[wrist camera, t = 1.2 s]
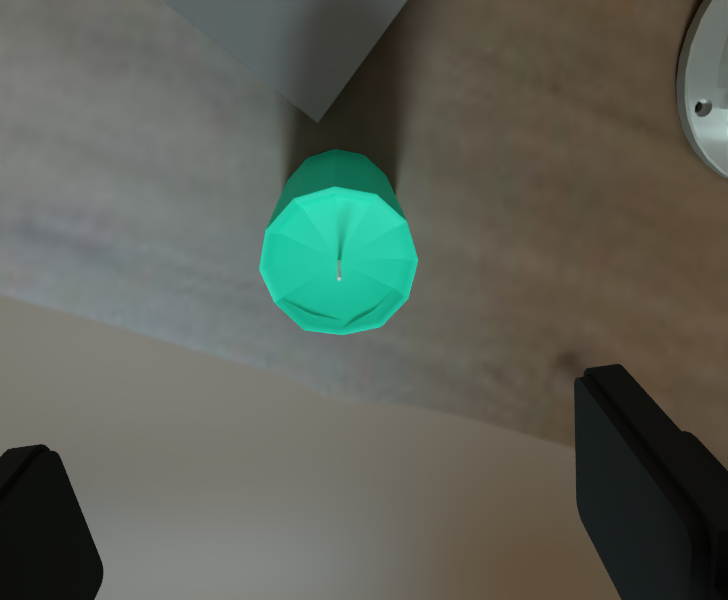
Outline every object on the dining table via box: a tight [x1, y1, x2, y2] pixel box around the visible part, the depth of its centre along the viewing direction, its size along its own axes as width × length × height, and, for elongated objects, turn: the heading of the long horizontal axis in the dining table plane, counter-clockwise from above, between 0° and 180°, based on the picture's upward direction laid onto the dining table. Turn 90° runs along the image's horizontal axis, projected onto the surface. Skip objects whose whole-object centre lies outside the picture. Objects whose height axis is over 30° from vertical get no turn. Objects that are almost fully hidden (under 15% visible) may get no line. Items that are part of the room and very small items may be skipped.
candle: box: [259, 149, 418, 335], centre depth 27 cm, size 6×6×12 cm
